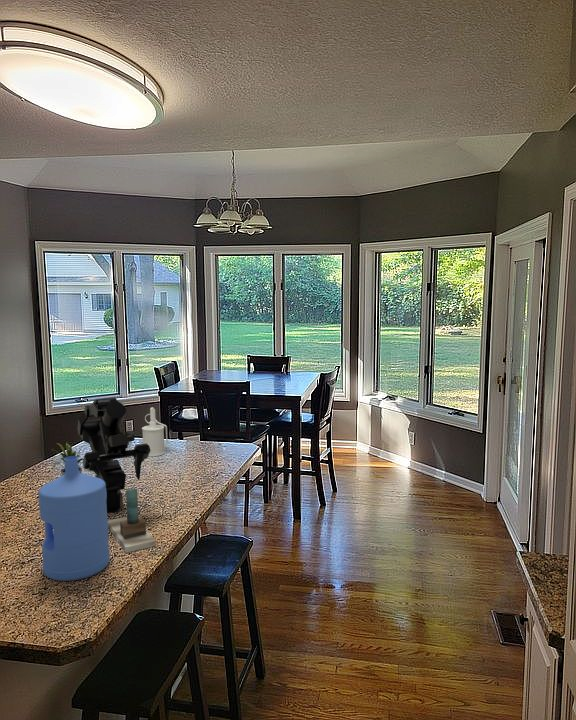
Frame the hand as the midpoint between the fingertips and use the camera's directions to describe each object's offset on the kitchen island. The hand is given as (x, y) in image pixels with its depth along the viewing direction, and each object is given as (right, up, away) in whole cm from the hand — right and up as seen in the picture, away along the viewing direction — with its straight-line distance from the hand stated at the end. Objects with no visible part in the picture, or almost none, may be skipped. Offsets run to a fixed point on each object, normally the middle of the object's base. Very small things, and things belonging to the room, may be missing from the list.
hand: (123, 482), depth 161 cm
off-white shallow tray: (+3, -14, -4) cm, 15 cm away
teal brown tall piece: (+5, -13, -7) cm, 15 cm away
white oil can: (-9, -5, +76) cm, 77 cm away
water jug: (-5, -16, -22) cm, 28 cm away
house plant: (-30, -10, +36) cm, 48 cm away
